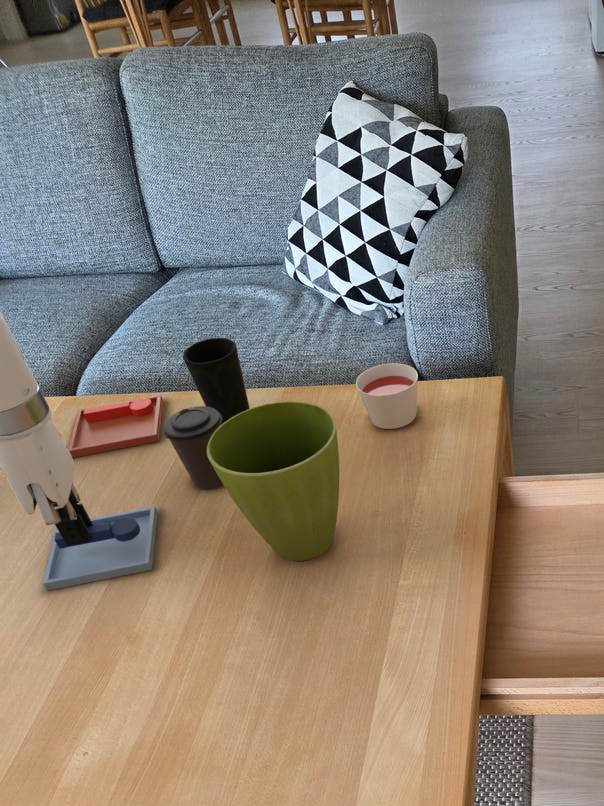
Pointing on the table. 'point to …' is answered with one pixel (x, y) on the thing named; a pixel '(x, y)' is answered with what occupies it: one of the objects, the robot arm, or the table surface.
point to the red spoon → (119, 410)
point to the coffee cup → (195, 442)
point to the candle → (389, 394)
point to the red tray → (116, 430)
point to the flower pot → (282, 474)
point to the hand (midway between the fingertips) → (80, 536)
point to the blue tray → (104, 554)
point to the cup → (218, 375)
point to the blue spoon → (108, 532)
